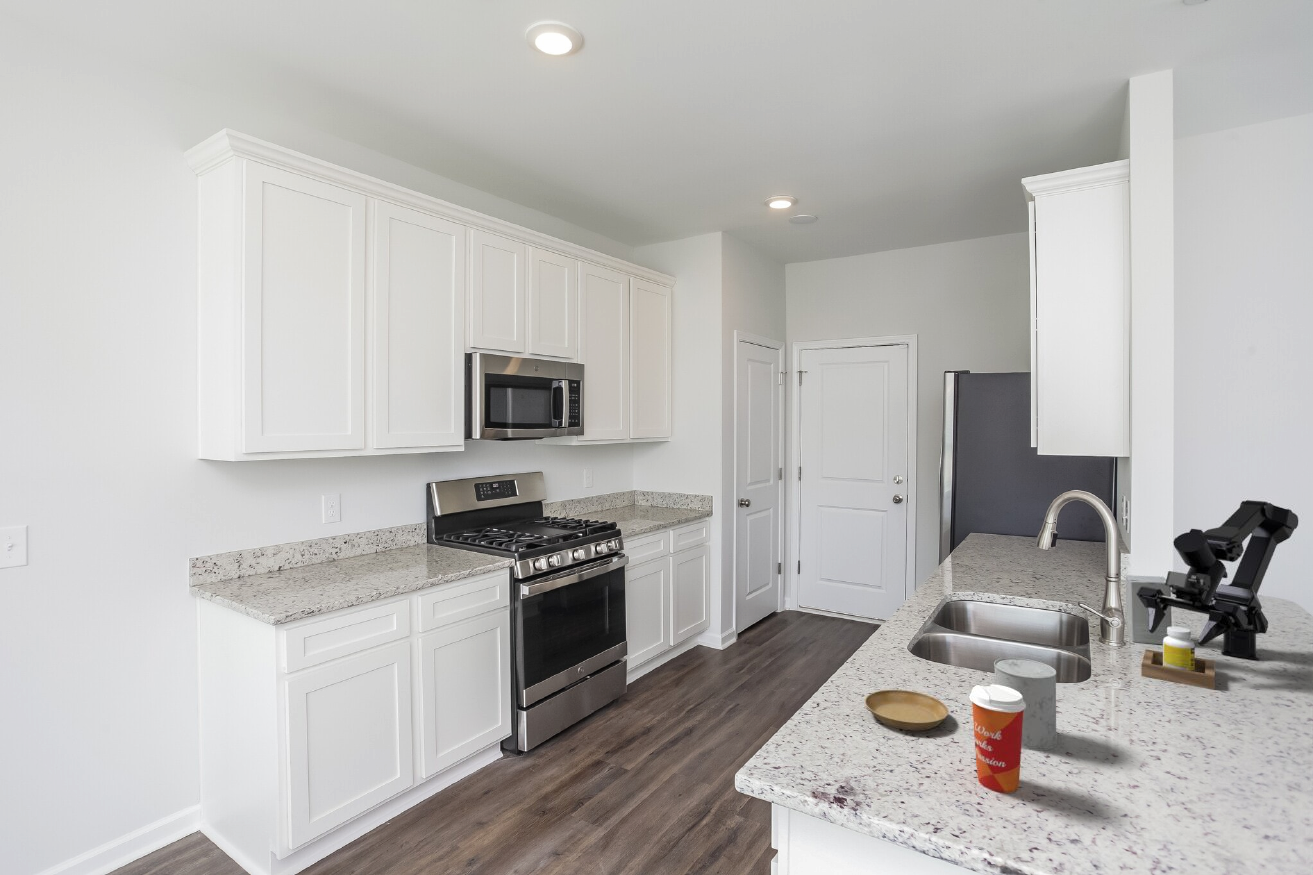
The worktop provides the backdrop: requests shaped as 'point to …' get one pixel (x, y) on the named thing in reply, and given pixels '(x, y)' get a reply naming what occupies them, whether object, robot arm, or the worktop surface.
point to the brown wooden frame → (1178, 671)
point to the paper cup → (998, 736)
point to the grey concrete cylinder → (1032, 698)
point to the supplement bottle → (1179, 649)
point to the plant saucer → (906, 709)
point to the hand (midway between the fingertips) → (1174, 637)
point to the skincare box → (1145, 610)
